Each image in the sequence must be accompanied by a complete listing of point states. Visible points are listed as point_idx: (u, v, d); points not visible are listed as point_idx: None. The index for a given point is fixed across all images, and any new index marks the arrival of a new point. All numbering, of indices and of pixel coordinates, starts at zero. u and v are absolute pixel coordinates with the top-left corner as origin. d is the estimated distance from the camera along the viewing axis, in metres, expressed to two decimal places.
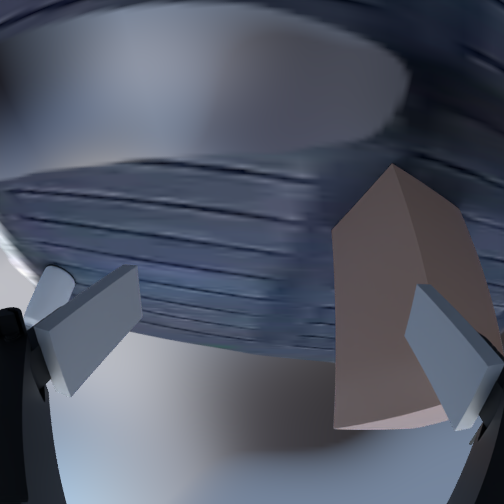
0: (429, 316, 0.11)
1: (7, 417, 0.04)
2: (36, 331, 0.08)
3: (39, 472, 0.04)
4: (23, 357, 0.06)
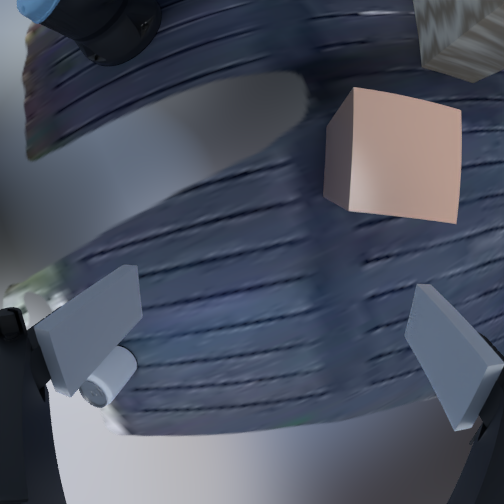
0: (430, 316, 0.11)
1: (7, 417, 0.04)
2: (36, 331, 0.08)
3: (39, 472, 0.04)
4: (23, 357, 0.06)
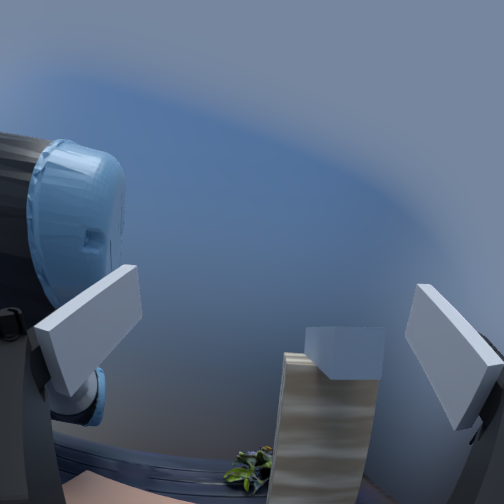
0: (430, 315, 0.11)
1: (7, 417, 0.04)
2: (36, 331, 0.08)
3: (39, 472, 0.04)
4: (23, 357, 0.06)
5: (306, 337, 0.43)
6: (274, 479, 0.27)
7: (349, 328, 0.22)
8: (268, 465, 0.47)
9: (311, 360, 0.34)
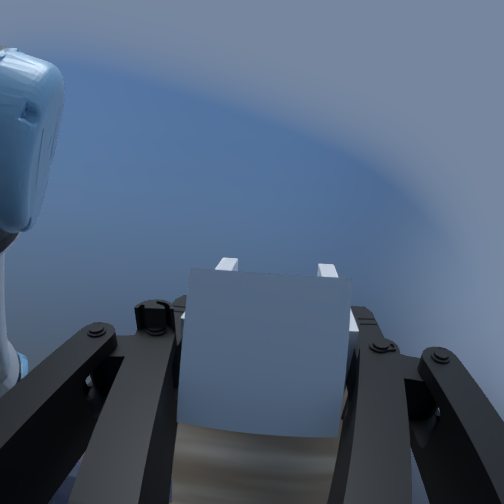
0: None
1: (134, 422, 0.05)
2: (183, 322, 0.09)
3: (154, 484, 0.04)
4: (167, 357, 0.07)
5: None
6: None
7: (232, 274, 0.08)
8: None
9: None
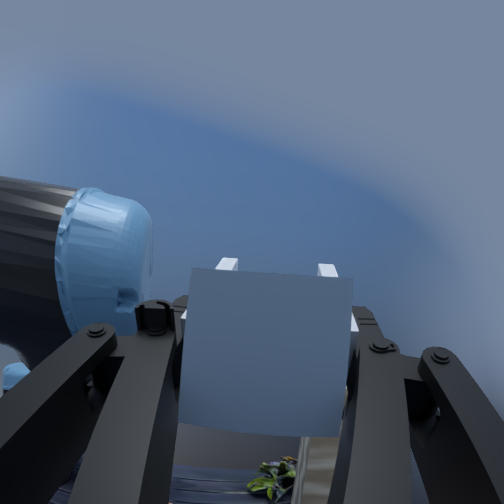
0: None
1: (134, 422, 0.05)
2: (183, 322, 0.09)
3: (154, 484, 0.04)
4: (167, 357, 0.07)
5: None
6: (304, 490, 0.28)
7: (234, 274, 0.08)
8: (290, 474, 0.48)
9: None
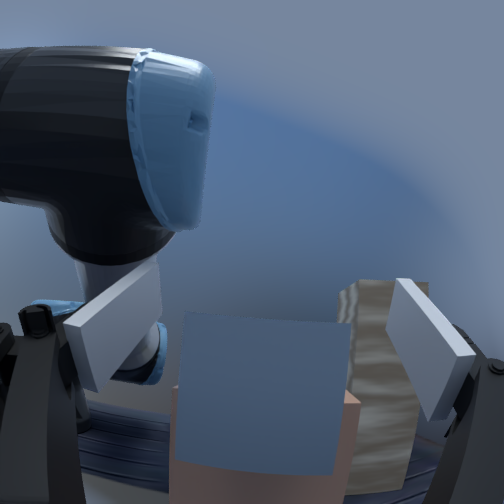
0: (407, 308, 0.11)
1: (31, 415, 0.05)
2: (65, 327, 0.08)
3: (61, 472, 0.04)
4: (51, 355, 0.07)
5: None
6: (353, 388, 0.34)
7: (228, 320, 0.07)
8: None
9: None
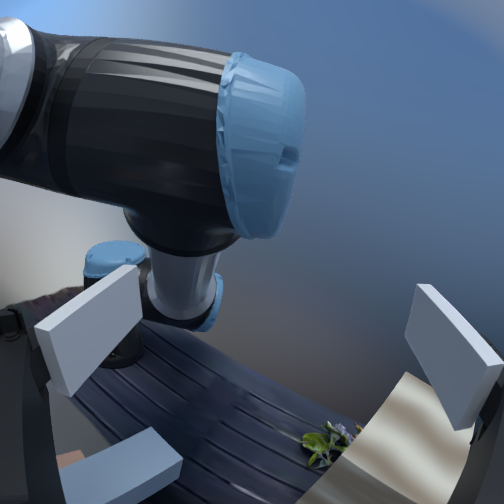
0: (430, 316, 0.11)
1: (7, 416, 0.04)
2: (36, 331, 0.08)
3: (39, 472, 0.04)
4: (23, 357, 0.06)
5: None
6: None
7: None
8: None
9: None
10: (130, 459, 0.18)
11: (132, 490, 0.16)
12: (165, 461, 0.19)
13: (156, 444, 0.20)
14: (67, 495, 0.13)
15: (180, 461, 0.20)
